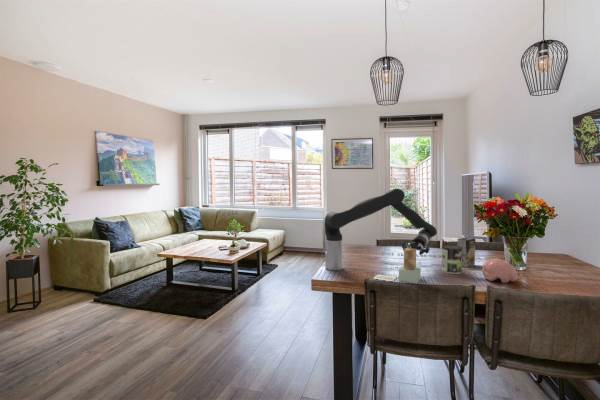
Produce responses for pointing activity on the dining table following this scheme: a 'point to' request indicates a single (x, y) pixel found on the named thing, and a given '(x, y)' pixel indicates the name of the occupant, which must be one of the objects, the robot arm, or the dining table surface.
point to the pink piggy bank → (499, 270)
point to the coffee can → (451, 259)
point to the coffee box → (467, 251)
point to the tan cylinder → (409, 258)
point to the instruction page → (384, 277)
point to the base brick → (410, 275)
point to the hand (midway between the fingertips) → (412, 251)
